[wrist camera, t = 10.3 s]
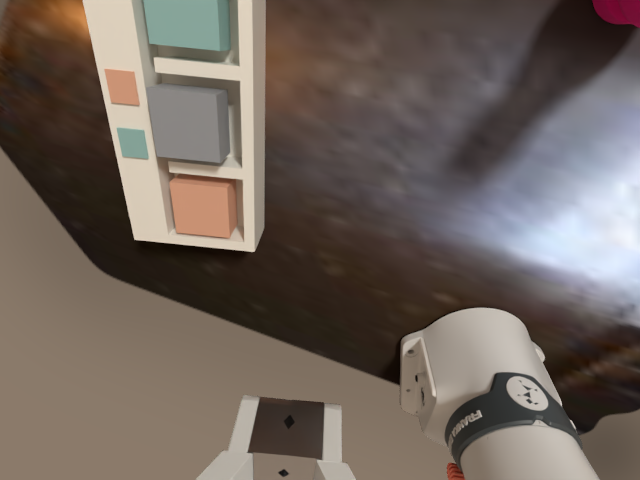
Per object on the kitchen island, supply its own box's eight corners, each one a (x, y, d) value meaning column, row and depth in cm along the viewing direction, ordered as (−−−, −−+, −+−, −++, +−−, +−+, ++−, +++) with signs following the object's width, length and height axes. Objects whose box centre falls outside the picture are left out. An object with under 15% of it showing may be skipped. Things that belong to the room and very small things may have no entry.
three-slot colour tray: (264, 228, 39) (254, 253, 34) (157, 217, 38) (133, 240, 34) (266, -46, 26) (250, -64, 22) (109, -63, 26) (62, -83, 22)
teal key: (231, 49, 28) (219, 50, 25) (167, 43, 28) (149, 43, 25) (228, -31, 25) (215, -39, 23) (157, -39, 25) (136, -48, 23)
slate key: (230, 152, 31) (220, 162, 28) (172, 146, 31) (156, 156, 28) (227, 89, 28) (216, 94, 25) (163, 82, 28) (146, 87, 25)
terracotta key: (237, 223, 36) (229, 237, 33) (188, 218, 36) (176, 232, 33) (235, 176, 33) (227, 188, 31) (182, 171, 33) (169, 182, 31)
